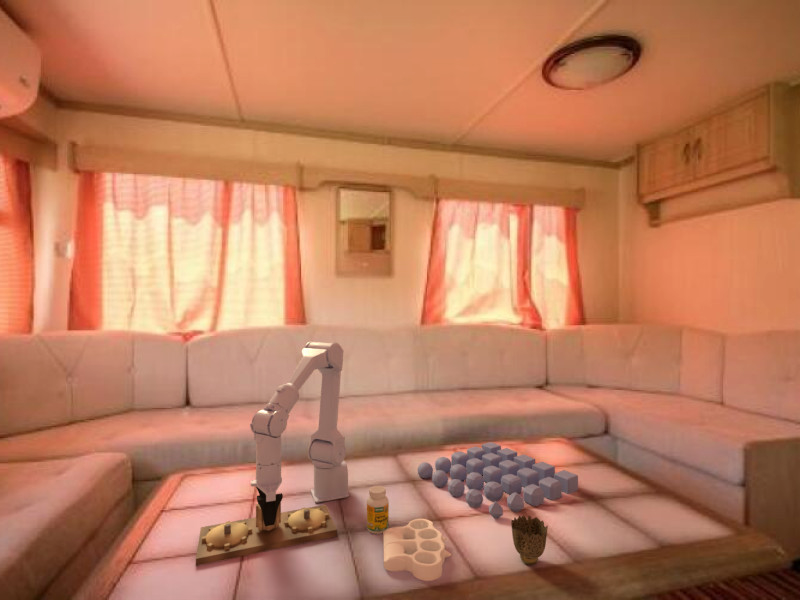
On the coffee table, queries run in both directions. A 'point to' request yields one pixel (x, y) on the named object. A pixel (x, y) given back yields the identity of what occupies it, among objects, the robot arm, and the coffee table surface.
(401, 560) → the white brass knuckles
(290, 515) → the gear board
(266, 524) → the robot arm
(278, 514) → the maple gear
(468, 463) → the blocks
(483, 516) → the coffee table surface
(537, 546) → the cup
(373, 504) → the supplement bottle
